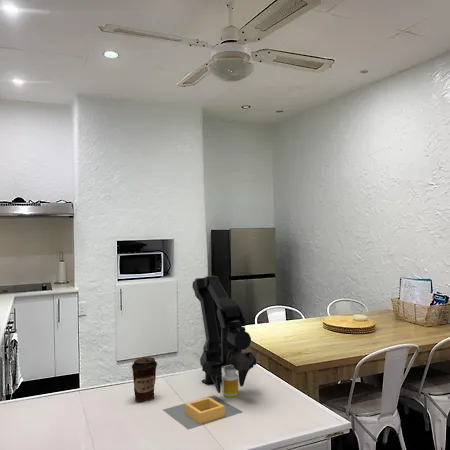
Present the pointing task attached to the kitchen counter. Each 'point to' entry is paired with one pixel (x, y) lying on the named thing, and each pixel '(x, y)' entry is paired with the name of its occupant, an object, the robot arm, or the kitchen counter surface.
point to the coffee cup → (144, 378)
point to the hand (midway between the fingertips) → (230, 389)
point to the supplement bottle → (230, 383)
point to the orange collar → (204, 416)
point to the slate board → (189, 423)
